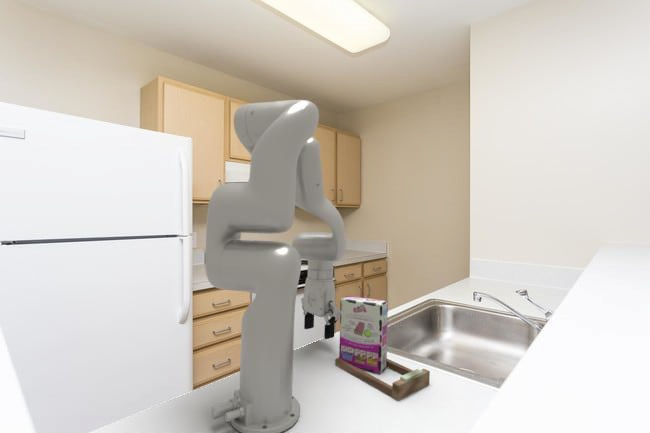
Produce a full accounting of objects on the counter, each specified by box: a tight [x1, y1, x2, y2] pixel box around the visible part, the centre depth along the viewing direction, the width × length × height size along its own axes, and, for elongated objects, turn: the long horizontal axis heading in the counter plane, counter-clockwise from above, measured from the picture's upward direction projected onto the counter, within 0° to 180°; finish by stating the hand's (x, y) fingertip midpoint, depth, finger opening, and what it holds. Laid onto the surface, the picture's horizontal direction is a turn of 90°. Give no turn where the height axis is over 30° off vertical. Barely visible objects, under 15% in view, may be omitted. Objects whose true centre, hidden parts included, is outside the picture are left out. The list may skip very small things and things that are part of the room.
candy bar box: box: [338, 295, 389, 375], centre depth 80 cm, size 11×5×16 cm, turn 61°
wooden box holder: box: [334, 357, 431, 401], centre depth 76 cm, size 11×20×4 cm, turn 39°
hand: (318, 332), depth 94 cm, fingers open, 9 cm apart
